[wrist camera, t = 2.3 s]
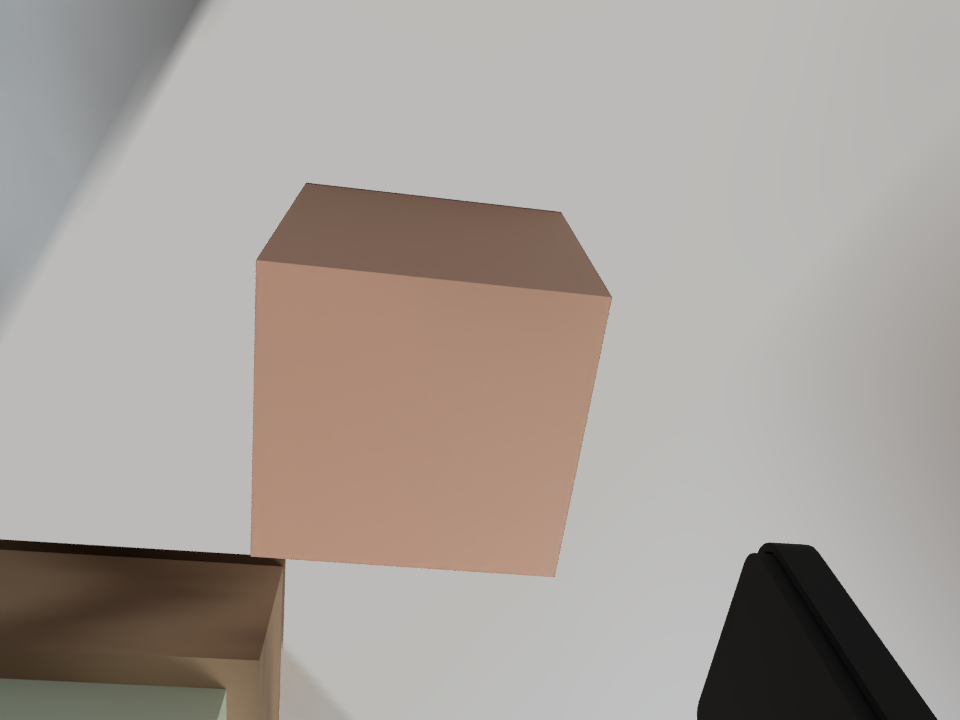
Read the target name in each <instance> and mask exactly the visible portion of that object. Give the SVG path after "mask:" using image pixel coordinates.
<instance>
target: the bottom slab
mask: <svg viewBox="0 0 960 720" xmlns="http://www.w3.org/2000/svg"><path fill="white" fill-rule="evenodd" d="M285 563H286V559H280V558H265V557H251V555H246V554H229V553H213V552H197V551H181V550H164V549H148V548H133V547H117V546H100V545H83V544H68V543H51V542H36V541H19V540H4V539H0V678H1V679H23V680H44V681H65V682H86V683H108V684H129V685H150V686H171V687H192V688H214V689H226V709H227V720H279V697H280V662H281V645H282V646H283V631H284V630H283V629H284V596H285Z"/></svg>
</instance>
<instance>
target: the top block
mask: <svg viewBox="0 0 960 720" xmlns="http://www.w3.org/2000/svg"><path fill="white" fill-rule="evenodd" d="M0 720H227V709H226V689H214V688H192V687H171V686H150V685H129V684H108V683H86V682H65V681H44V680H23V679H1V678H0Z"/></svg>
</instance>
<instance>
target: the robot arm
mask: <svg viewBox="0 0 960 720" xmlns="http://www.w3.org/2000/svg"><path fill="white" fill-rule="evenodd" d="M697 720H937V718H936V717H935V716H934V714H933V713H932V711H931V710H930V709H929V707H928V706H927V704H926V703H925V701H924V700H923V699H922V697H921V696H920V694H919V693H918V692H917V690H916V689H915V687H914V686H913V685H912V684H911V682H910V680H909V679H908V678H907V676H906V675H905V673H904V672H903V671H902V669H901V668H900V666H899V665H898V664H897V662H896V661H895V659H894V658H893V656H892V655H891V654H890V652H889V651H888V649H887V648H886V647H885V645H884V644H883V642H882V641H881V640H880V638H879V637H878V636H877V634H876V633H875V631H874V630H873V628H872V627H871V626H870V624H869V623H868V621H867V620H866V619H865V617H864V616H863V614H862V613H861V612H860V610H859V609H858V607H857V606H856V605H855V603H854V602H853V600H852V599H851V598H850V596H849V595H848V593H847V592H846V590H845V589H844V588H843V586H842V585H841V584H840V582H839V581H838V580H837V578H836V576H835V575H834V574H833V572H832V571H831V569H830V568H829V567H828V565H827V564H826V562H825V561H824V560H823V558H822V557H821V555H820V554H819V553H818V551H816V549H815V548H814V547H812V546H809V545H801V544H782V543H766V544H764V545H763V546H762V547H761V548H760V549H759V551H758V553H752V554H750V555H749V556H748V557H747V559H746V561H745V563H744V566H743V569H742V572H741V575H740V578H739V581H738V584H737V587H736V590H735V593H734V597H733V599H732V602H731V605H730V608H729V612H728V615H727V618H726V621H725V624H724V627H723V630H722V633H721V636H720V639H719V642H718V645H717V648H716V651H715V654H714V658H713V660H712V663H711V667H710V670H709V673H708V676H707V679H706V682H705V685H704V688H703V691H702V694H701V697H700V700H699V704H698V710H697Z"/></svg>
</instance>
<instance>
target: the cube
mask: <svg viewBox="0 0 960 720" xmlns="http://www.w3.org/2000/svg"><path fill="white" fill-rule="evenodd" d="M611 300H612V297H611V295H610V293H609V292H608V290H607V288H606V286H605V285H604V283H603V281H602V280H601V278H600V277H599V275H598V273H597V272H596V270H595V268H594V267H593V265H592V263H591V261H590V260H589V258H588V256H587V255H586V253H585V251H584V250H583V248H582V246H581V245H580V243H579V241H578V240H577V238H576V236H575V235H574V233H573V231H572V230H571V228H570V226H569V225H568V223H567V222H566V220H565V218H564V216H563V215H562V213H561V212H557V211H548V210H539V209H531V208H522V207H513V206H504V205H496V204H487V203H478V202H470V201H461V200H453V199H443V198H435V197H426V196H418V195H409V194H400V193H391V192H383V191H374V190H366V189H357V188H348V187H339V186H330V185H322V184H312V183H306V184H305V186H304V187H303V189H302V190H301V192H300V193H299V195H298V196H297V198H296V200H295V201H294V203H293V204H292V206H291V207H290V209H289V210H288V212H287V214H286V215H285V217H284V218H283V220H282V221H281V223H280V224H279V226H278V227H277V229H276V230H275V232H274V234H273V235H272V237H271V238H270V240H269V241H268V243H267V244H266V246H265V248H264V249H263V251H262V252H261V254H260V255H259V257H258V258H257V260H256V303H255V354H254V359H255V360H254V407H253V460H252V512H251V515H252V516H251V557H265V558H280V559H295V560H310V561H325V562H339V563H340V562H341V563H354V564H355V563H356V564H369V565H384V566H398V567H399V566H400V567H414V568H428V569H443V570H458V571H473V572H487V573H503V574H517V575H532V576H547V577H555V573H556V567H557V563H558V557H559V553H560V548H561V543H562V538H563V533H564V529H565V524H566V519H567V514H568V509H569V504H570V499H571V495H572V490H573V485H574V480H575V475H576V470H577V465H578V460H579V456H580V451H581V446H582V441H583V436H584V431H585V426H586V422H587V416H588V412H589V407H590V402H591V397H592V392H593V387H594V382H595V378H596V373H597V368H598V363H599V358H600V353H601V348H602V344H603V339H604V334H605V329H606V324H607V319H608V314H609V309H610V304H611Z"/></svg>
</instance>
